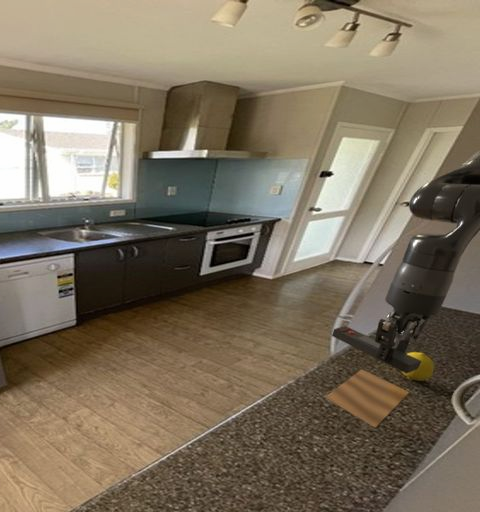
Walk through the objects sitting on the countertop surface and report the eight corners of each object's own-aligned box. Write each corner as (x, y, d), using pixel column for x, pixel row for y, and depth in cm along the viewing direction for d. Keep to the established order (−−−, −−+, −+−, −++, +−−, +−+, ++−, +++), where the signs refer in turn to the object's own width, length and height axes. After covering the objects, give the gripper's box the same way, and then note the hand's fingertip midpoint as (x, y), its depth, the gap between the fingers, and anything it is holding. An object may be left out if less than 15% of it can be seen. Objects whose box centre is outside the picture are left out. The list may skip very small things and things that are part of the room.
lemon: (430, 391, 69) (444, 363, 66) (399, 381, 71) (410, 355, 69) (421, 377, 73) (433, 351, 71) (392, 369, 76) (402, 343, 73)
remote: (418, 368, 59) (422, 360, 59) (406, 373, 58) (410, 364, 57) (342, 332, 72) (345, 325, 71) (331, 335, 70) (334, 328, 70)
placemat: (361, 370, 75) (361, 369, 75) (408, 393, 68) (409, 392, 68) (324, 398, 66) (324, 397, 66) (374, 429, 58) (375, 427, 58)
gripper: (412, 275, 63) (385, 342, 68) (374, 283, 58) (348, 354, 63) (464, 289, 56) (429, 361, 61) (425, 299, 51) (392, 377, 56)
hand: (388, 357), depth 62 cm, fingers closed on remote, 4 cm apart
